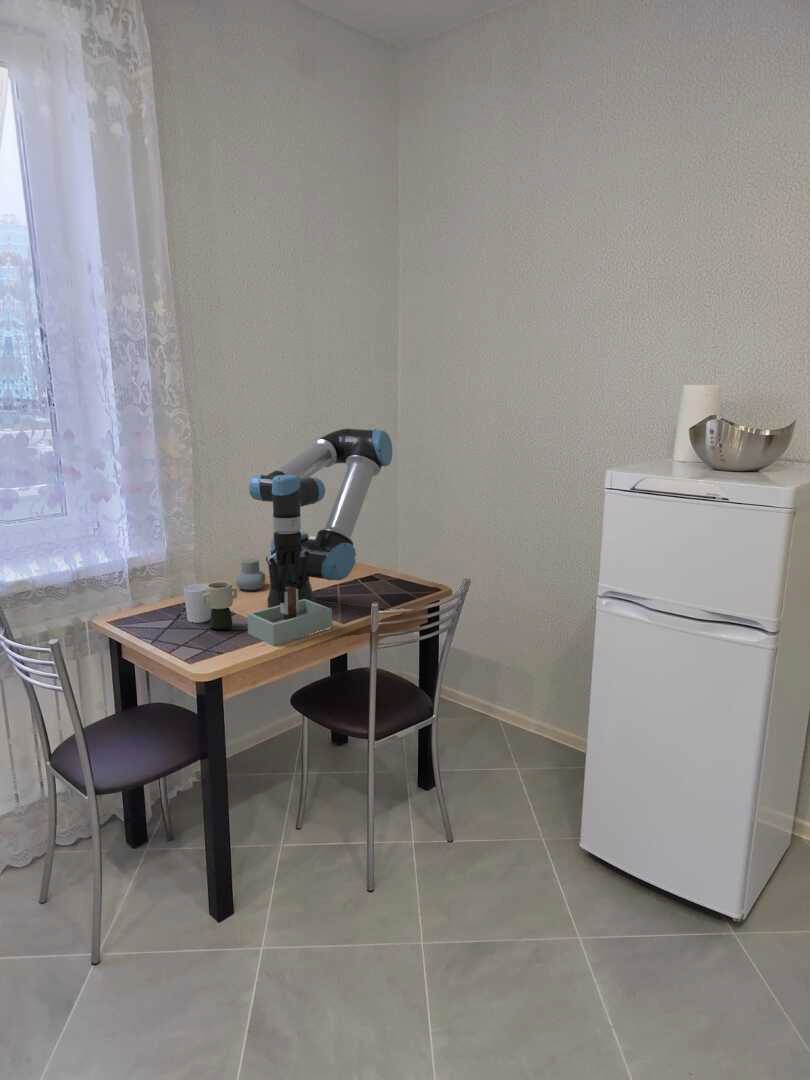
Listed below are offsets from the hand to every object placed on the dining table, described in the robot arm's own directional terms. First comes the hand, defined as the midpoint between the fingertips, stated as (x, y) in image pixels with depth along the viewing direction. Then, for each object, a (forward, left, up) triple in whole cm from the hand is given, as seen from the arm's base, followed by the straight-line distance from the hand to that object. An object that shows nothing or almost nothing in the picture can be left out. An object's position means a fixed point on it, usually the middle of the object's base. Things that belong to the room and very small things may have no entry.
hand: (289, 611), depth 202 cm
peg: (0, 0, -2) cm, 2 cm away
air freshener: (-39, +27, -6) cm, 47 cm away
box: (0, 0, -6) cm, 6 cm away
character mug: (-19, -8, -6) cm, 21 cm away
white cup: (-30, -6, -6) cm, 31 cm away
